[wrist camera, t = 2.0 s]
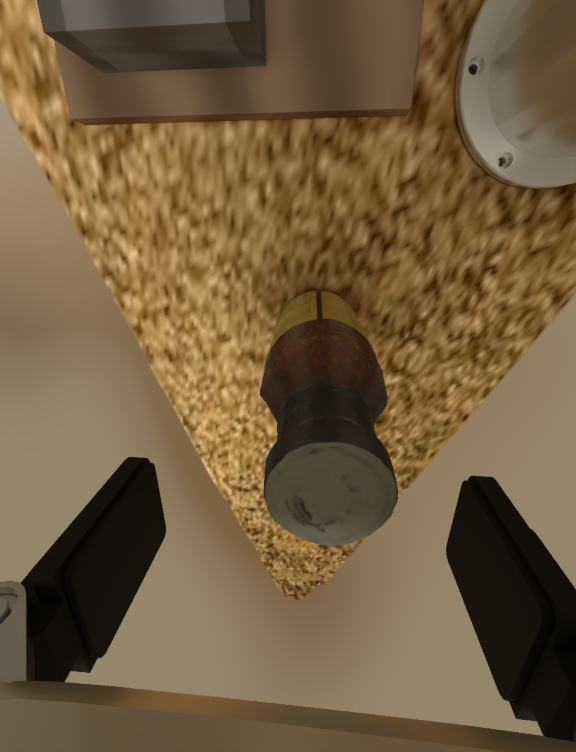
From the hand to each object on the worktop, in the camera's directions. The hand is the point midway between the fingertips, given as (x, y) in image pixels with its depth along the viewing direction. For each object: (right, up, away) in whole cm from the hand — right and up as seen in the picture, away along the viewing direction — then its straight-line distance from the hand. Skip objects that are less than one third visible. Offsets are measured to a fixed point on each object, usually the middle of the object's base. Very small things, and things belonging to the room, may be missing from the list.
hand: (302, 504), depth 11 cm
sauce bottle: (+2, +8, +18) cm, 20 cm away
